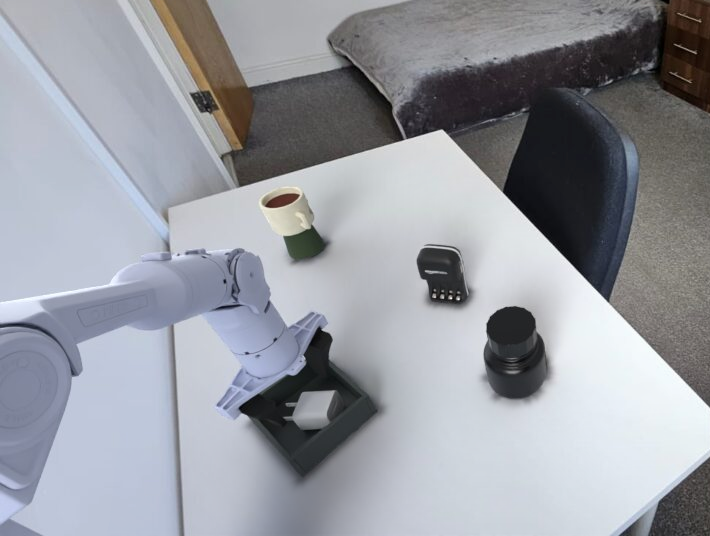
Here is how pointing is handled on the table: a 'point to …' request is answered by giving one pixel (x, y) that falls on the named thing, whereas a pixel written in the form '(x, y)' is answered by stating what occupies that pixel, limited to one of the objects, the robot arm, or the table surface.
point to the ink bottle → (514, 353)
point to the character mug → (292, 220)
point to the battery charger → (443, 273)
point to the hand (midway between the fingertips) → (301, 396)
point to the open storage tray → (314, 444)
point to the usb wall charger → (316, 409)
